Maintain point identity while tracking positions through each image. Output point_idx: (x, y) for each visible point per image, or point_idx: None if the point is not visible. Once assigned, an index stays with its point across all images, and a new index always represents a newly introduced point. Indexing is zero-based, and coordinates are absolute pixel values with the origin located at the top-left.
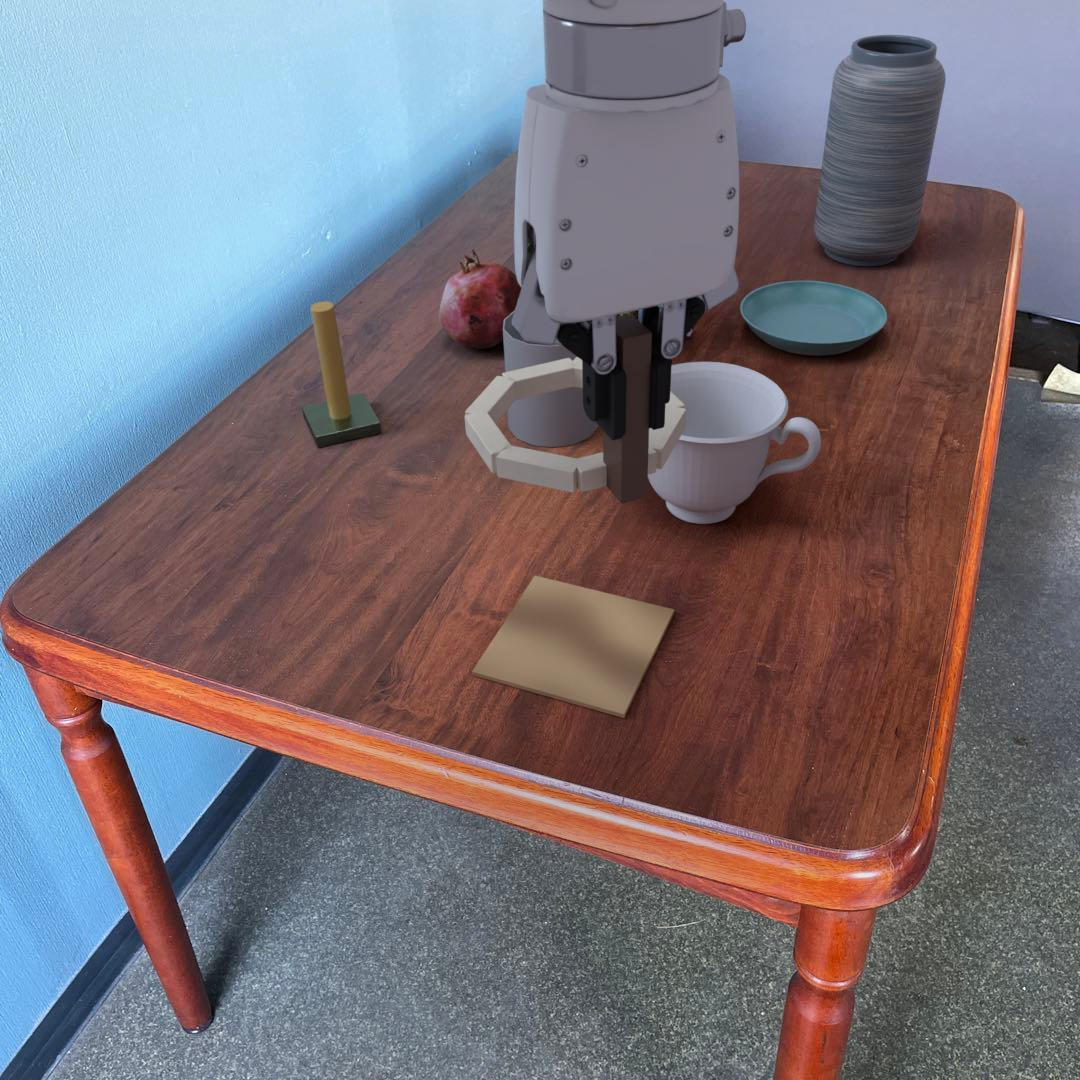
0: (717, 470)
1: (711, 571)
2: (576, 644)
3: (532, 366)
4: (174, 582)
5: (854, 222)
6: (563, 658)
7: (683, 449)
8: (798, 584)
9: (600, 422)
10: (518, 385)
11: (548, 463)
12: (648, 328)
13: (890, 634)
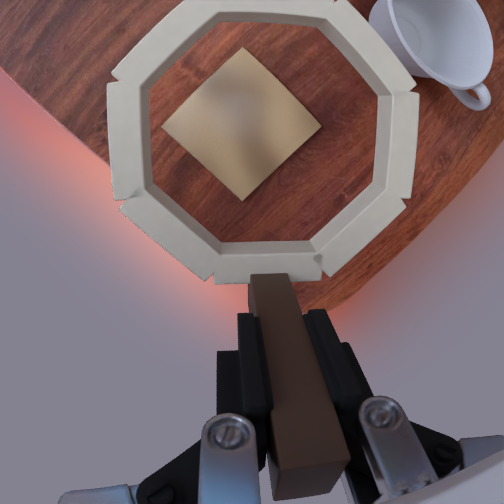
0: (415, 70)
1: (365, 101)
2: (240, 128)
3: None
4: (25, 3)
5: None
6: (225, 137)
7: (403, 48)
8: None
9: (238, 346)
10: (225, 14)
11: (180, 251)
12: (360, 447)
13: (415, 206)
